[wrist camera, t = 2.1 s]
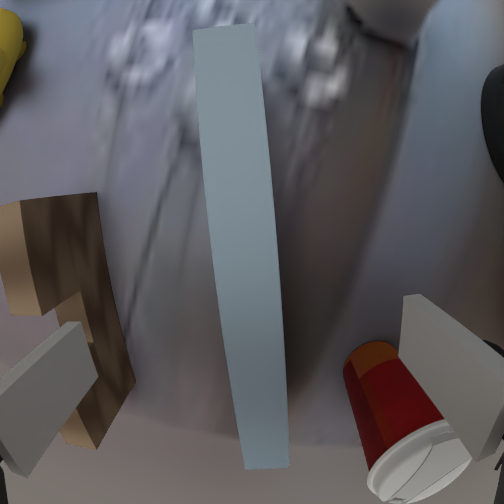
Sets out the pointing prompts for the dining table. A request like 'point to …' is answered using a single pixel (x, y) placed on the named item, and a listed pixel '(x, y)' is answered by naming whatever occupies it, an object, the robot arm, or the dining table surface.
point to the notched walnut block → (68, 295)
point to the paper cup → (400, 427)
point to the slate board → (243, 236)
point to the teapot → (9, 46)
